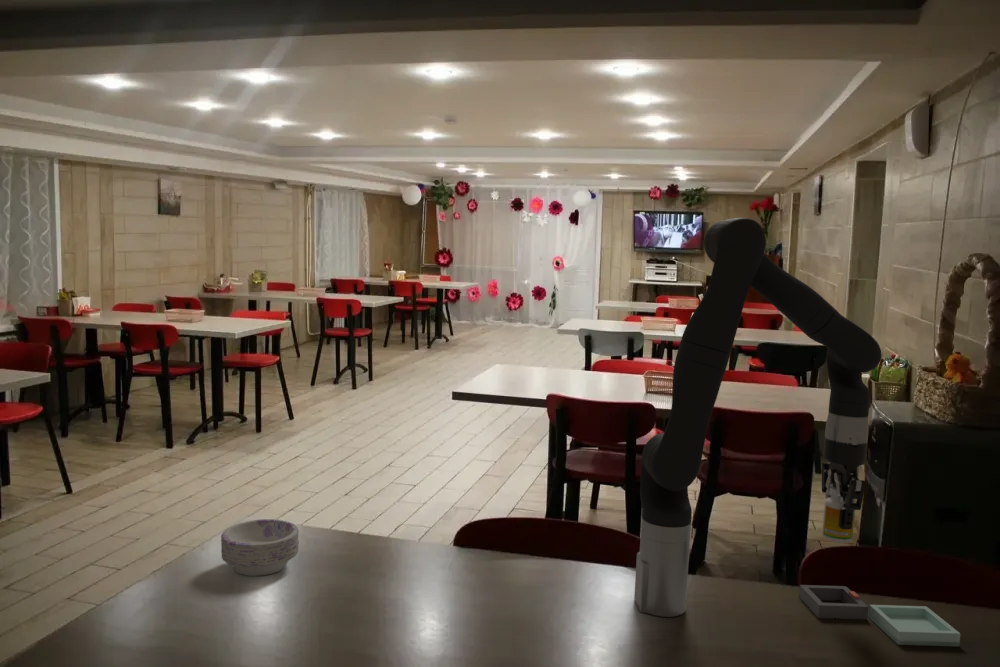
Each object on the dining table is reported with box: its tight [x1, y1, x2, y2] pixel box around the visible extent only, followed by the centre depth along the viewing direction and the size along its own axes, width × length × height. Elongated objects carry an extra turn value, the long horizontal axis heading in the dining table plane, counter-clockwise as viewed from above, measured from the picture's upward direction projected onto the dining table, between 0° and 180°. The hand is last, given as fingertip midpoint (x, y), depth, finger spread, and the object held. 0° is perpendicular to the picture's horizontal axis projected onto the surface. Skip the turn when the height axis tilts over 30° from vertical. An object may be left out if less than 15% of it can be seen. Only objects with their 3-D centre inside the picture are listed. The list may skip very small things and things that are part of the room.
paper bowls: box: [220, 518, 300, 577], centre depth 164 cm, size 15×15×8 cm
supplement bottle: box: [822, 487, 856, 543], centre depth 154 cm, size 5×5×10 cm
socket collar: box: [798, 584, 869, 620], centre depth 156 cm, size 9×9×3 cm
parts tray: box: [867, 604, 961, 647], centre depth 147 cm, size 11×11×2 cm
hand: (838, 523), depth 154 cm, fingers closed on supplement bottle, 5 cm apart
